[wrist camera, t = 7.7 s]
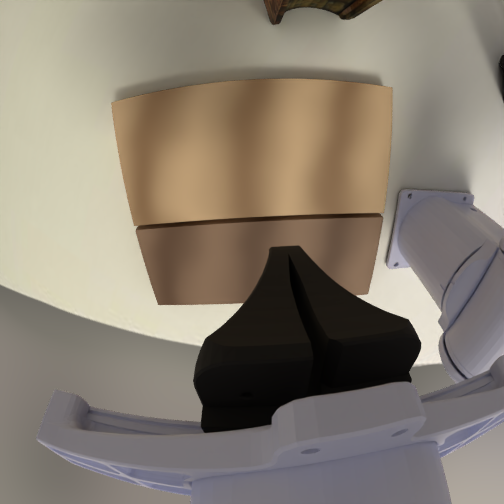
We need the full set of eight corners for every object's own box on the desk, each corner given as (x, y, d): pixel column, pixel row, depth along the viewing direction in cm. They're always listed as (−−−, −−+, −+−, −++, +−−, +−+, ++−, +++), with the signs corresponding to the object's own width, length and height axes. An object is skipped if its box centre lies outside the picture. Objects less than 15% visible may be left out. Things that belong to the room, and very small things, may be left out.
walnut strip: (375, 209, 22) (383, 217, 21) (362, 283, 26) (367, 294, 25) (141, 221, 23) (135, 230, 21) (162, 294, 27) (158, 304, 25)
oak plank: (383, 87, 17) (392, 87, 15) (376, 205, 22) (383, 212, 20) (119, 101, 17) (111, 102, 16) (140, 218, 22) (134, 225, 21)
